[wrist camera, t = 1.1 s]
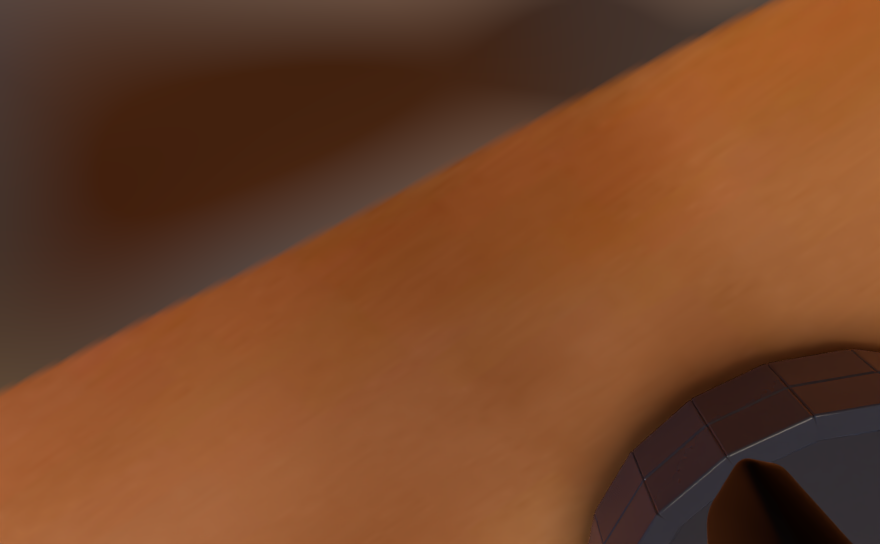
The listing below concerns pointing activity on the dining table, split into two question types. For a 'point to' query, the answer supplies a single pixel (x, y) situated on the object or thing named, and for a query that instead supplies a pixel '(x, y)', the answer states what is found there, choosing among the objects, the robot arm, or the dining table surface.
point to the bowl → (757, 450)
